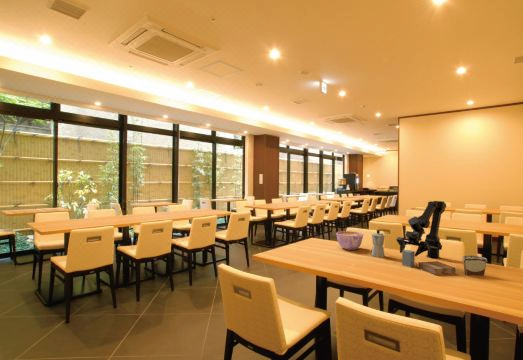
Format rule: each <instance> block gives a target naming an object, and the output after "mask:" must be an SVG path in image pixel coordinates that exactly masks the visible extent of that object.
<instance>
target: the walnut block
mask: <svg viewBox="0 0 523 360" xmlns="http://www.w3.org/2000/svg"><path fill="white" fill-rule="evenodd" d="M417 265H418V266H417V268H418V269H419V270H421V269H422V271H424V272H426V273H429V274H431V275H433V276H445V275H446V276H447V275H449V276H450V275H456V267H454V266H452V265H448V264H445V263H443V262H440V261H420V262H419V261H418V264H417Z"/></svg>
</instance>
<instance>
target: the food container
mask: <svg viewBox="0 0 523 360" xmlns="http://www.w3.org/2000/svg"><path fill="white" fill-rule="evenodd" d="M461 260H462V261H463V269H464V270H463V271H464V275H465V276H467V277H485V274H486V265H487V263H488V259H487V258H486V257H484V256H480V255H471V254H469V255H466V254H465V255H463V256H462V259H461Z"/></svg>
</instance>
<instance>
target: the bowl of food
mask: <svg viewBox="0 0 523 360" xmlns="http://www.w3.org/2000/svg"><path fill="white" fill-rule="evenodd" d="M335 234H336V238H337V243H338V245H339V246H340V247H341V248H343V249H344V250H348V251H355V250H357V249H358V248H360V246H361V245H362V242H363V238H364V233H362V232H359V231H350V230H349V231H348V230H346V231H345V230H342V231H341V230H339V231H337V232H336V233H335Z"/></svg>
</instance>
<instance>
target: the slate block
mask: <svg viewBox="0 0 523 360" xmlns="http://www.w3.org/2000/svg"><path fill="white" fill-rule="evenodd" d="M415 253H416V251H414V250H409V249H404V250H403V251H402V253H401V254H402V257H401V258H402V259H401V260H402V261H401V265H402V266H403V267H408V268H412V267H415V264H416V263H415V262H416V261H415V258H416V257H415Z"/></svg>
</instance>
